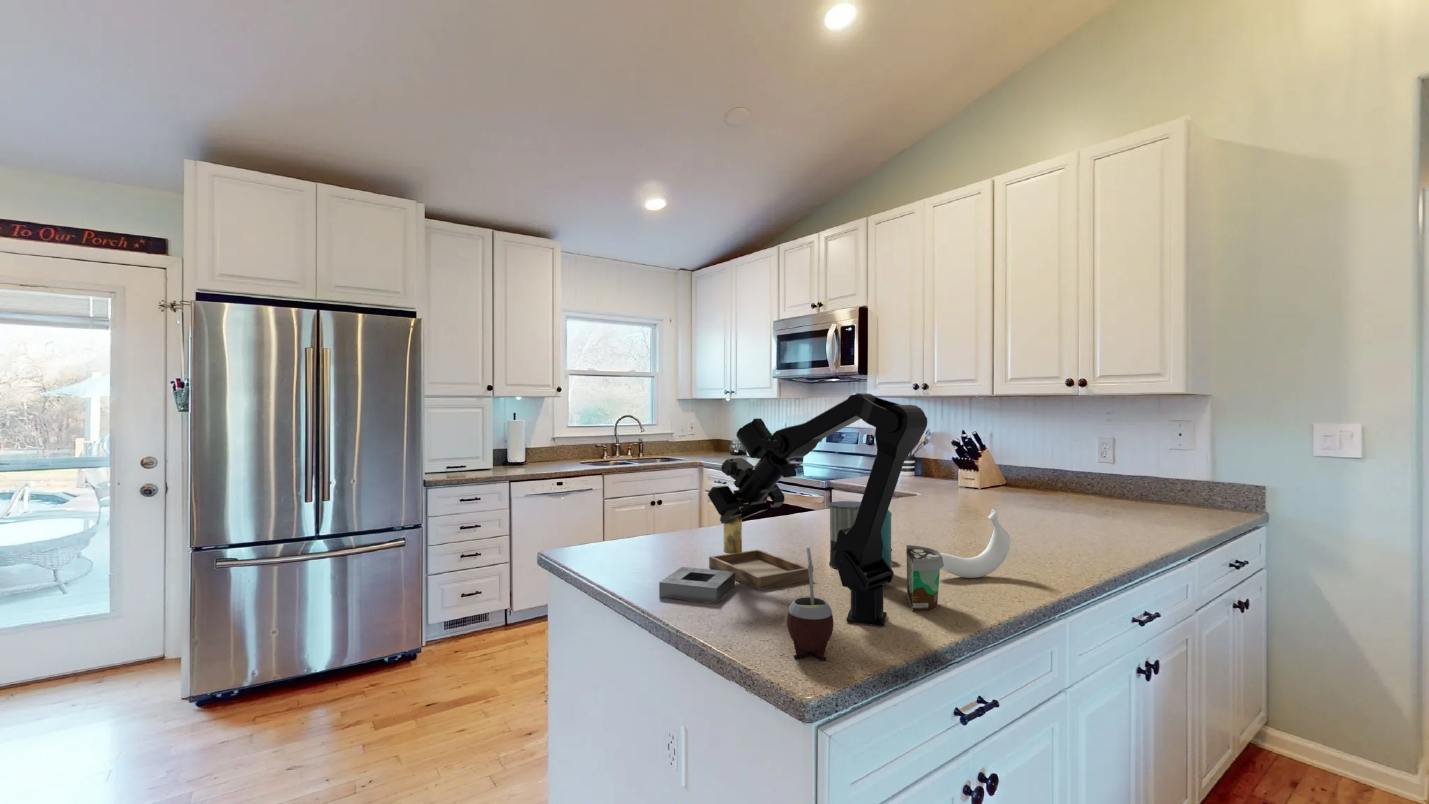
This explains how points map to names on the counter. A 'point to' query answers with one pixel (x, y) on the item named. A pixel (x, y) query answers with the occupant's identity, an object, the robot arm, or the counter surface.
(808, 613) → the mate gourd
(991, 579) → the counter surface
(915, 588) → the food container
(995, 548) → the banana
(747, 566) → the walnut tray
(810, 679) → the counter surface
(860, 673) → the counter surface
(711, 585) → the grey square socket block
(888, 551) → the beverage bottle
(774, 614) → the counter surface
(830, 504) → the milk frother
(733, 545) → the brass pin
